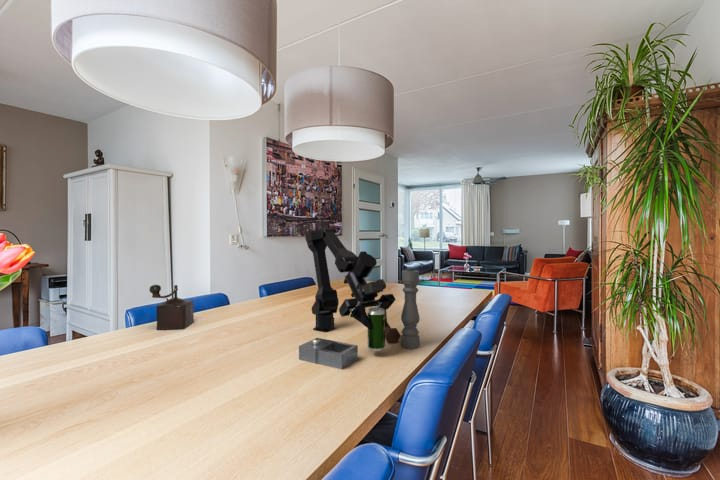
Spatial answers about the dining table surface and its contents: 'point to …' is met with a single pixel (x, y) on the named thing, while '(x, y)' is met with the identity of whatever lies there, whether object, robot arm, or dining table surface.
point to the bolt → (391, 335)
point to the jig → (328, 353)
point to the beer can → (376, 329)
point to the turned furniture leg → (410, 310)
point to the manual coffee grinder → (172, 311)
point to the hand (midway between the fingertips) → (379, 327)
